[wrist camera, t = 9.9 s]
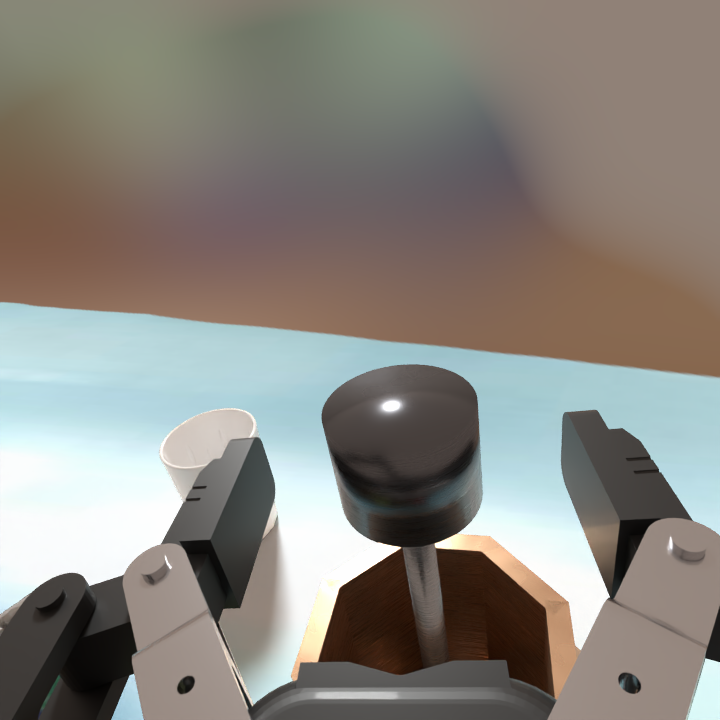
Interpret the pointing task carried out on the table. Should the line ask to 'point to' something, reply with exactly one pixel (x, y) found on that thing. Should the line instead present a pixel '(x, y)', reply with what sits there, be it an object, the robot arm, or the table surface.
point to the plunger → (408, 473)
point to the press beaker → (461, 613)
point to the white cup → (205, 447)
